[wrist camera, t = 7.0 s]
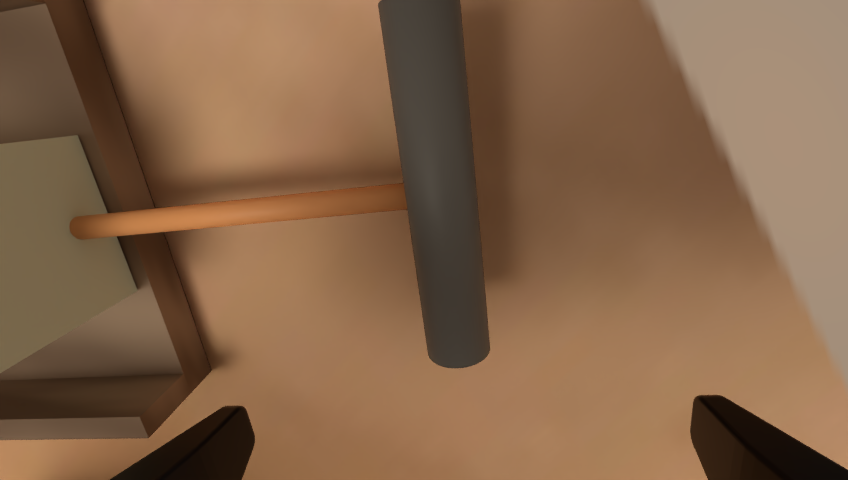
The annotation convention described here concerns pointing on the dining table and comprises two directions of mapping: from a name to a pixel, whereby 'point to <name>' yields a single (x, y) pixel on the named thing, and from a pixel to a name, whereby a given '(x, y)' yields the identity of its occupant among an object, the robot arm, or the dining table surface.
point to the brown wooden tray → (145, 253)
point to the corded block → (262, 207)
